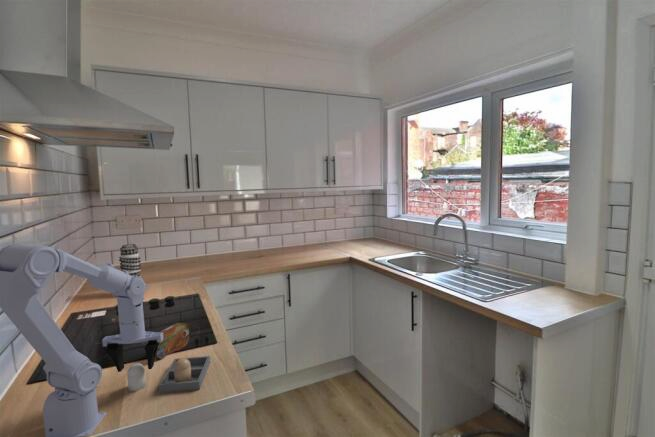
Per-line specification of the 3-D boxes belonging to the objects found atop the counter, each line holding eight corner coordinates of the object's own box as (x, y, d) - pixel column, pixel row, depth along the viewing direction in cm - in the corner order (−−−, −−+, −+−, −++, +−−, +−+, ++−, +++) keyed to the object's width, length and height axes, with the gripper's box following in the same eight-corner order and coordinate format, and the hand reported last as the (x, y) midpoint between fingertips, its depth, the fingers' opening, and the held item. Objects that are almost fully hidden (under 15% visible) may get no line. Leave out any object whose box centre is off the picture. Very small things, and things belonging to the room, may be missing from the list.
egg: (125, 393, 93) (123, 369, 92) (132, 384, 97) (130, 361, 96) (142, 392, 94) (140, 367, 93) (148, 383, 98) (146, 359, 97)
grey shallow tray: (159, 394, 92) (158, 385, 92) (175, 367, 106) (174, 358, 106) (199, 390, 94) (199, 381, 93) (210, 364, 107) (209, 355, 107)
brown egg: (173, 388, 94) (171, 363, 93) (177, 379, 98) (176, 356, 98) (189, 386, 95) (187, 362, 94) (193, 378, 99) (191, 354, 98)
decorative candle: (117, 297, 172) (113, 246, 169) (130, 291, 181) (126, 243, 178) (135, 297, 171) (130, 246, 168) (147, 291, 180) (143, 243, 177)
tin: (156, 364, 108) (154, 337, 107) (149, 362, 109) (147, 336, 108) (192, 342, 122) (190, 319, 121) (185, 341, 123) (183, 318, 122)
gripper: (165, 312, 98) (169, 358, 100) (109, 316, 96) (114, 363, 98) (156, 322, 91) (160, 372, 93) (96, 326, 89) (101, 377, 91)
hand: (136, 368), depth 95 cm, fingers open, 7 cm apart
